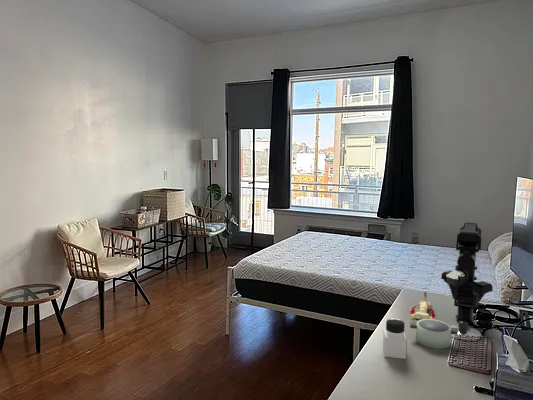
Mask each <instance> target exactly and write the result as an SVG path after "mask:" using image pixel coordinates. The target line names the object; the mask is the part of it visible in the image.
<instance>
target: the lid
mask: <svg viewBox="0 0 533 400" xmlns="http://www.w3.org/2000/svg"><path fill="white" fill-rule="evenodd" d="M450 327H451V328H457V329H458V336H459V334H460V335H461V336H467V335H469V336H481V337H482V333H481V332H480V331H478V330H477V329H475V328H473V327H470V326H468V323H467V322H466V321H459V322H458V324H451V325H450ZM453 337H455V335H454V334H451V338H453ZM453 339H454V338H453Z"/></svg>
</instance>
